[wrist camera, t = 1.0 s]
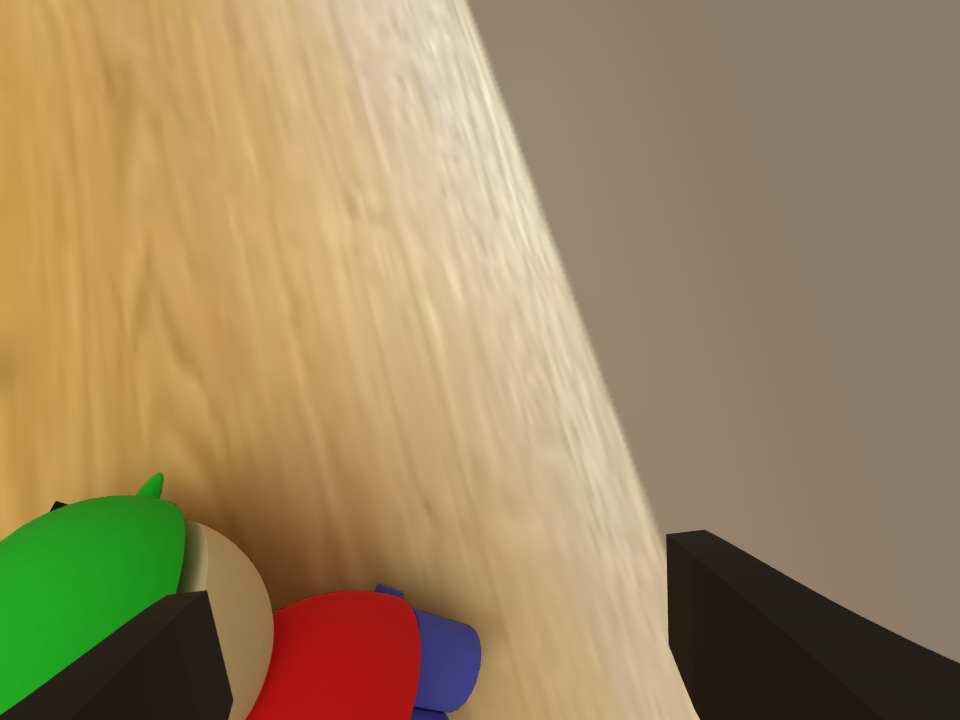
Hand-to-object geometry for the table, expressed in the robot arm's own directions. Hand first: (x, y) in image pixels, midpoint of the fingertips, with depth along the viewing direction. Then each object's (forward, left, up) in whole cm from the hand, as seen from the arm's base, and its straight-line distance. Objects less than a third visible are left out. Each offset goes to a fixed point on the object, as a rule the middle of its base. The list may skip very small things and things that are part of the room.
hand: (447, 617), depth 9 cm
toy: (-2, +4, -15) cm, 16 cm away
